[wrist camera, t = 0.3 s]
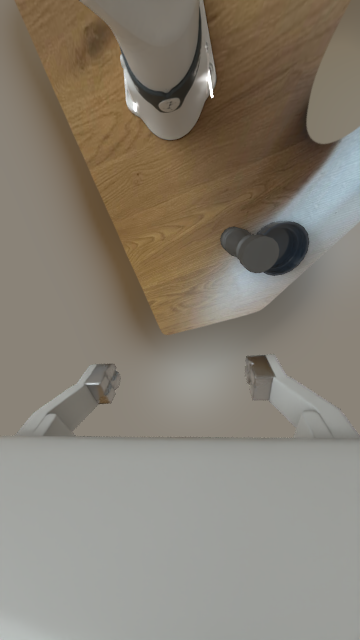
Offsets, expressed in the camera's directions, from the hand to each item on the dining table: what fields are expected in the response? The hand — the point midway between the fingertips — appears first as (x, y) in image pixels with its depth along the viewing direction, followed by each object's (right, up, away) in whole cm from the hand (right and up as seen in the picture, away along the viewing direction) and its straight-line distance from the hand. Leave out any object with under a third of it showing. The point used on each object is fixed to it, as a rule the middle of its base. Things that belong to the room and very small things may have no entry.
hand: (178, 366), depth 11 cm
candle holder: (+15, +26, +39) cm, 49 cm away
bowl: (+27, +24, +39) cm, 53 cm away
